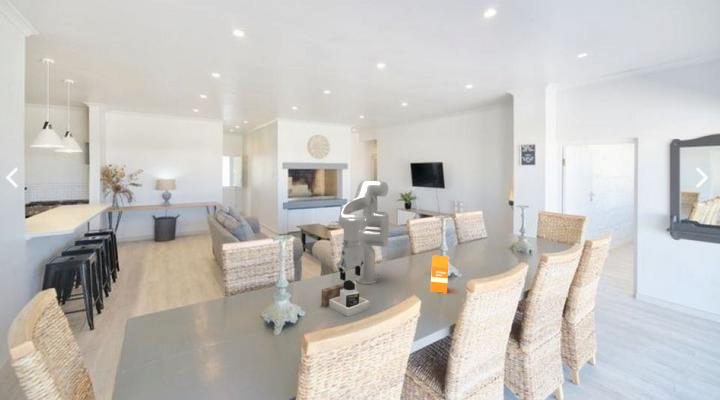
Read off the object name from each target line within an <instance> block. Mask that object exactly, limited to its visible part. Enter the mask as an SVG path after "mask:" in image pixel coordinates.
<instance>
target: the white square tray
mask: <svg viewBox="0 0 720 400" xmlns="http://www.w3.org/2000/svg"><path fill="white" fill-rule="evenodd" d="M370 303H371V301H370V300H367V299H366V298H363V297H361V296H359V304H358V305H355V306H352V307H350V308H348V307H345V306H343V305H341V304H340V296H339V297H336V298H332V299H329V306H328V307H329V308H331V309H332V310H334V311H337V312H338V313H340V314H342V315H344V316H346V317H350V316H351V317H352V316H353V315H356V314H359V313H362V312H364V311H365V310H368V309H370V306H371V305H370Z"/></svg>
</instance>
